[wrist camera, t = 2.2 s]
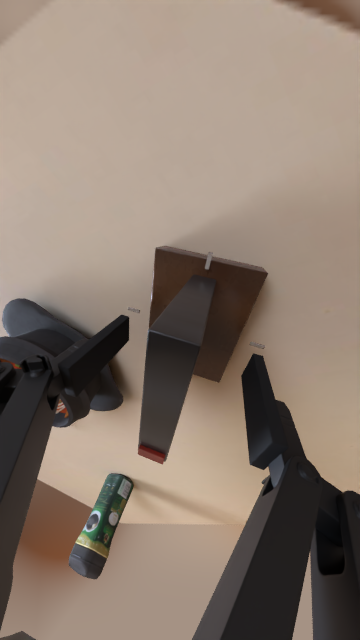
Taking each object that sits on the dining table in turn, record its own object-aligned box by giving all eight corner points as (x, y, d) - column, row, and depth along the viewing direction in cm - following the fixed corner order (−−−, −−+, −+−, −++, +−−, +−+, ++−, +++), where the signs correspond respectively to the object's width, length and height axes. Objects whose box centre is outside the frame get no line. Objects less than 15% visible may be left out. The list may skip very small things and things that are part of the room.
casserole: (150, 393, 29) (124, 445, 22) (91, 408, 38) (59, 449, 30) (44, 271, 22) (-42, 288, 15) (1, 322, 31) (-67, 349, 24)
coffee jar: (119, 483, 59) (80, 574, 44) (105, 471, 57) (59, 563, 41) (138, 485, 55) (102, 587, 39) (124, 473, 53) (80, 575, 37)
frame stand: (141, 234, 17) (128, 234, 15) (294, 267, 15) (306, 273, 13) (136, 345, 25) (127, 357, 22) (237, 377, 23) (238, 393, 20)
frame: (193, 274, 15) (144, 332, 6) (216, 279, 15) (200, 349, 6) (175, 360, 20) (135, 454, 12) (191, 365, 20) (164, 466, 11)
